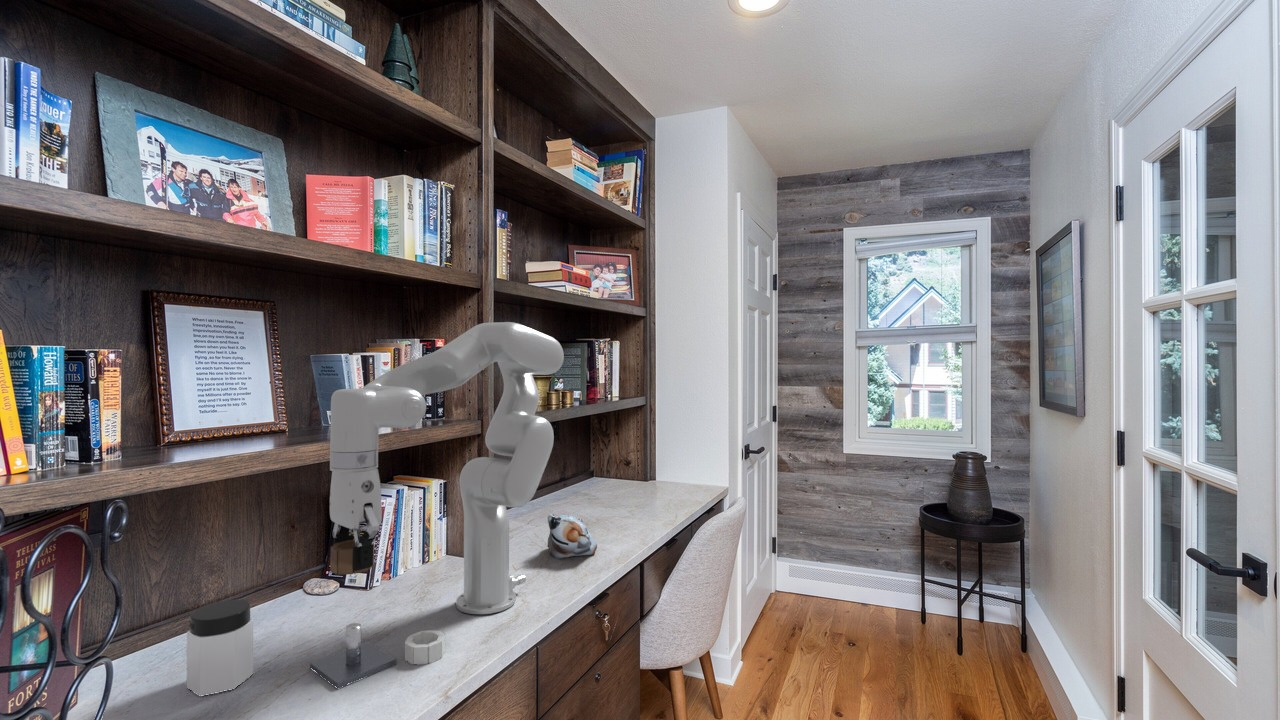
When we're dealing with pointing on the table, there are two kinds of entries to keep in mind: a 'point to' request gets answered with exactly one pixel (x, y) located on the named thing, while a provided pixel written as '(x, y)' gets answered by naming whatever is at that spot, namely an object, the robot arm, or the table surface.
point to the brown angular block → (344, 558)
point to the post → (353, 660)
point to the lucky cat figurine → (569, 537)
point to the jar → (219, 647)
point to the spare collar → (424, 647)
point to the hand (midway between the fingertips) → (352, 562)
